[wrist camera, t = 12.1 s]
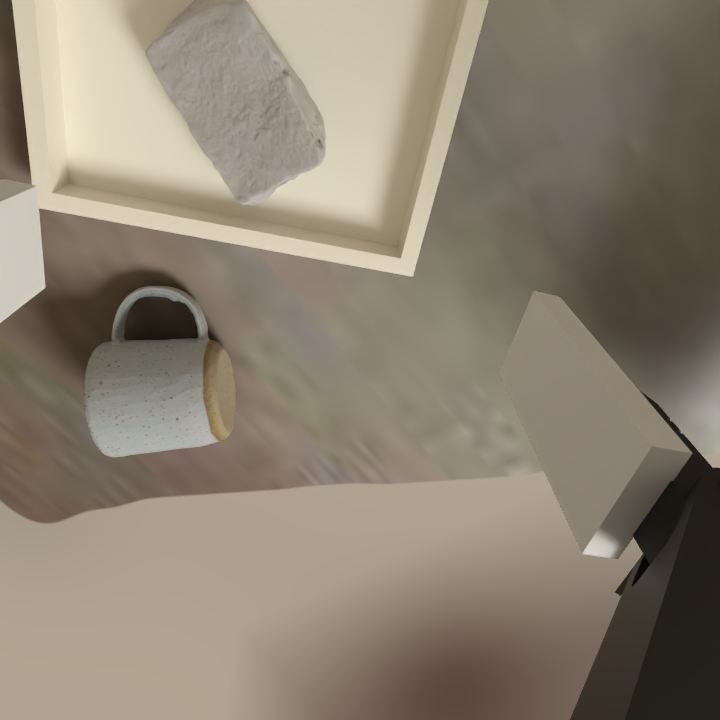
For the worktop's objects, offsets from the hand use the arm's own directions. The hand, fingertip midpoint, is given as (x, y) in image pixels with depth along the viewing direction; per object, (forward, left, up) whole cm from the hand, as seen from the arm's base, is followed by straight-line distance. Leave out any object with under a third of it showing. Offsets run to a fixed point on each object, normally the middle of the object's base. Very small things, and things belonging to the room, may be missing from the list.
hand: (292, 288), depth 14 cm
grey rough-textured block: (+4, -2, -20) cm, 20 cm away
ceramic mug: (+8, +15, -20) cm, 27 cm away
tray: (+4, -4, -20) cm, 21 cm away
